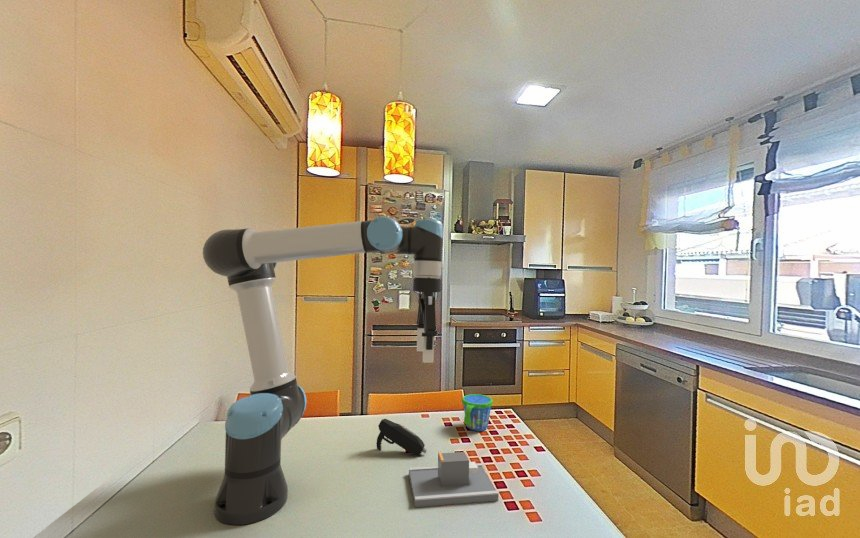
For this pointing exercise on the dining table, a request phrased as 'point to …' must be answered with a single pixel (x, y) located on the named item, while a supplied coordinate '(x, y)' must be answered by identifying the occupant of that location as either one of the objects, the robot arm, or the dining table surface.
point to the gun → (400, 437)
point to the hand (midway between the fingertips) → (424, 356)
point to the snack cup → (477, 411)
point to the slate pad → (449, 488)
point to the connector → (455, 469)
